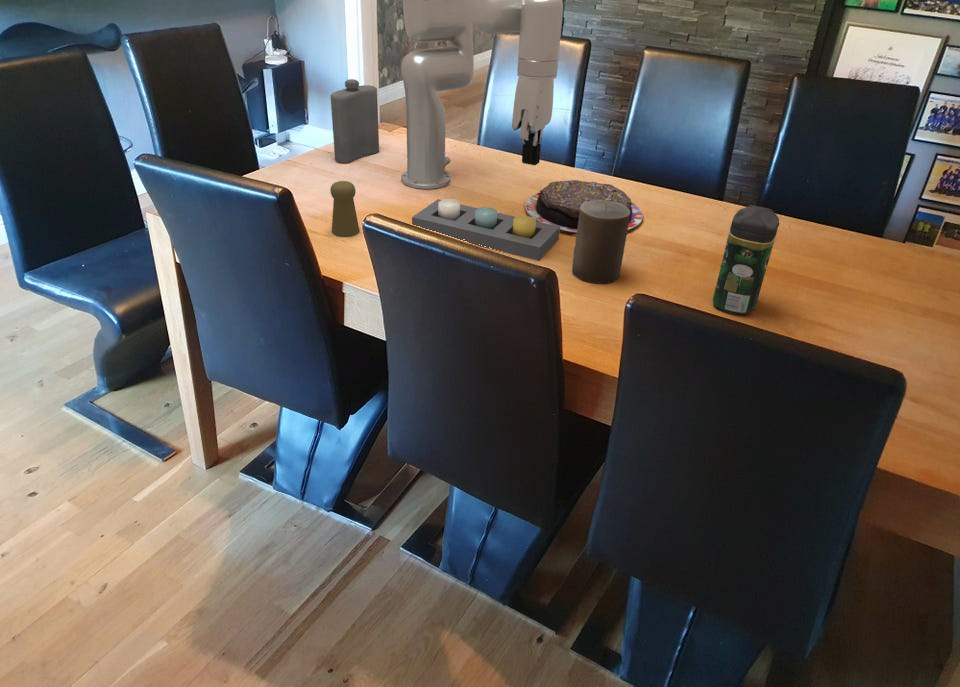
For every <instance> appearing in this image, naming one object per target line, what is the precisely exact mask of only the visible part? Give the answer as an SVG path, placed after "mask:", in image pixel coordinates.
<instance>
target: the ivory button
mask: <svg viewBox="0 0 960 687" xmlns="http://www.w3.org/2000/svg"><path fill="white" fill-rule="evenodd" d="M440 200H441V201H439V202H438V217H440V218H445V219H449V220H453V221H456V220H457V219H458V218H459V217H460V204H461V202H460V201H459V200H457V199H453V198H444V199H440Z"/></svg>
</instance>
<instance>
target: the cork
mask: <svg viewBox="0 0 960 687" xmlns="http://www.w3.org/2000/svg"><path fill="white" fill-rule="evenodd" d="M329 190H330V195H331V198H333V203H332V206H333V207H332V220H331V222H332V223H331V234H332V235H333V236H335V237H339V238H351V237H355V236H358V234H359V233H360V232H361V231H360V225H359V220H358V215H357V211H356V205H355V200H354V197H355V196H356V187H355V185H354V184H353V183H352V182H351V181H347V180H339V181H336V182H333V183H332V184H331V186H330V189H329Z"/></svg>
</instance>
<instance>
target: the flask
mask: <svg viewBox="0 0 960 687" xmlns="http://www.w3.org/2000/svg"><path fill="white" fill-rule="evenodd" d="M344 87H345V88H342V89H338V90H336V91H334V92H332V93H331V94H330V95H329V96H330V108H331V109H330V110H331V122H332V133H333V134H332V135H333V136H332V137H333V149H334V152H333V153H334V160H335V162H336V163H338V164H344V165H345V164H351V163H353V162H354V161H357V160H360V159H362V158H364V157H368V156H372V155H377V154H378V153H379V152H380V137H379V111H378V110H379V109H378V108H379V106H378V105H379V104H378V88H377V87H376V86H374V85H369V84H368V85H360V82H359V80H357V79H354V78H352V79H351V78H348V79H346V80H345V81H344Z"/></svg>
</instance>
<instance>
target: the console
mask: <svg viewBox="0 0 960 687" xmlns="http://www.w3.org/2000/svg"><path fill="white" fill-rule="evenodd" d="M441 200H442V199H439V198H437V199H436V200H435V201H434V202H431V204H429V205H428V206H426V207H424V208H423V209H421V210H420V211H418V212H417V213H416V214H415V215H413V216H412V217H411V225H412V224H413V225H416V226H420V227H422V228H425V229H429V230H432V231H436V232H439V233H442V234H445V235H448V236H451V237H454V238H457V239H460V240H463V239H465V240H463V241H467V242H469V243H472V244H475V245H474V246H476V245H478V247H480V246H481V245H482V248H484V246H486V247H485V249H490V248H492V249H490V250H493V251H497V250H499V251H498V252H501V251H503V252H502V253H505V252H507V253H506V254H509V253H510V255H513V256H518V257H521V258H527V259H530V260H533V261H540V260H541V259H542V258H543V257H544V256H545V254H547V252H548V251H549V250H550V249H551V248H552V247H553V246H554V245H555V244H556V243H557V242H558V241H559V238H560V232H561V231H560V227H559V226H555V225H551V224H546V223H542V222H537V221H536V228H535V236H534V237H533V238H532V239H530V238H526V237H521V236H517V235H513V234H512V233H513V220H514V218H515V217H516V216H514V215H511V214H510V215H509V214H506V213H500V212H497V226H496V227H495V228H494V229H493V230H492V229H487V228H483V227H479V226H475V210H476V209H478V208H479V207H475V206H470V205H467V204H461V203H460V217H459V218H458V219H457V220H456V221H453V220H449V219H445V218H440V217H438V202H439V201H441ZM472 244H471V245H472ZM479 244H480V245H479ZM489 247H490V248H489ZM494 249H496V250H494Z"/></svg>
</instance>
